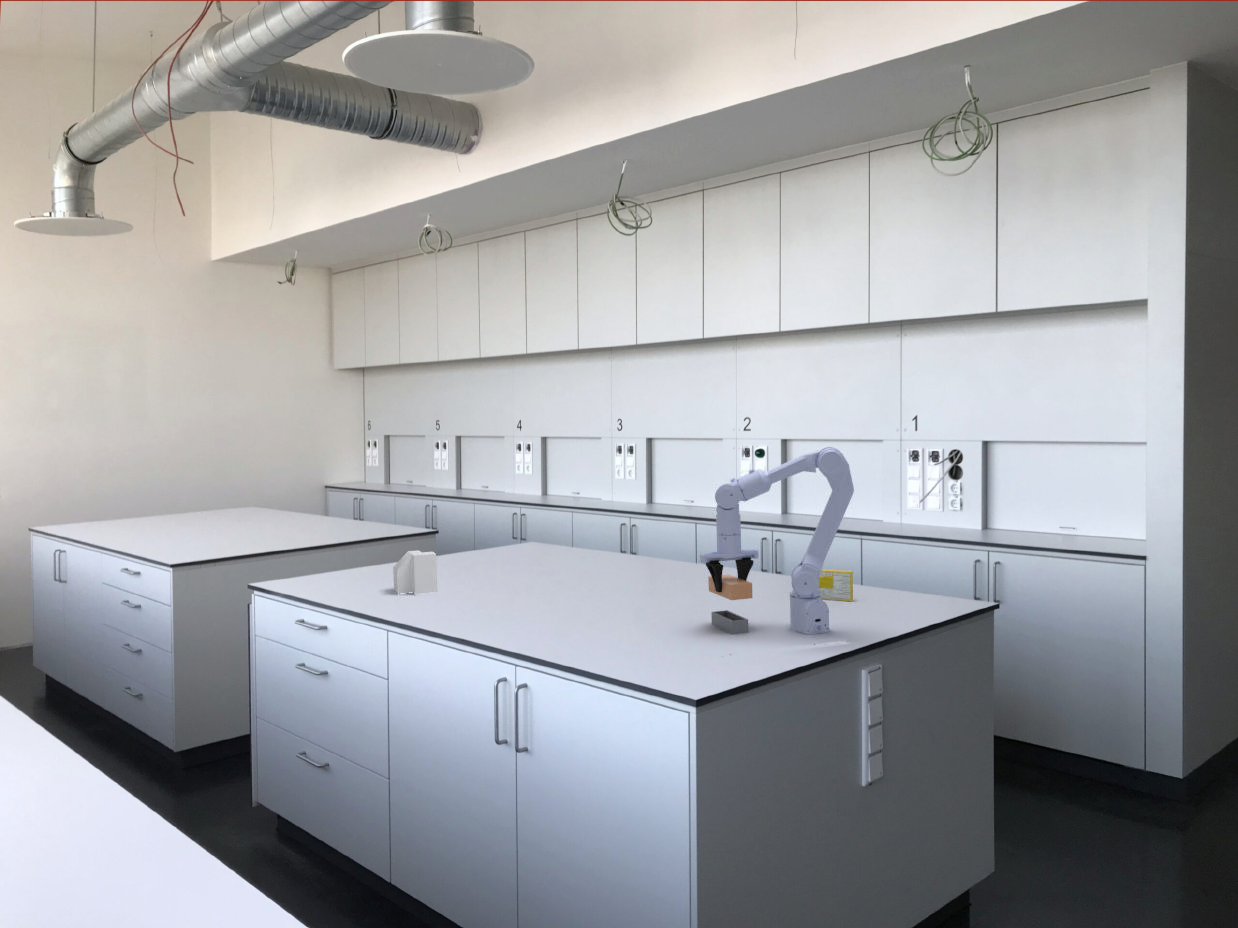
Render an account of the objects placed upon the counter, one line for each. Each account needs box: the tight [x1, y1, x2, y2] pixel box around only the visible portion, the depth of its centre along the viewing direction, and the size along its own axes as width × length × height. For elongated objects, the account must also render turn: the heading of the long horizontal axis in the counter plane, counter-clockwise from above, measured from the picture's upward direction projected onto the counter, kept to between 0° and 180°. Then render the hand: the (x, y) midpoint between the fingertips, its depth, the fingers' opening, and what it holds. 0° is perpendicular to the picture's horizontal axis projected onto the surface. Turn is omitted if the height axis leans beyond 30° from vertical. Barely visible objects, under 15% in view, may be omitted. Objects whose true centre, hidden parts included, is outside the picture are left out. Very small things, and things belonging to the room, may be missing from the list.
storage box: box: [711, 609, 749, 635], centre depth 228 cm, size 11×4×4 cm, turn 19°
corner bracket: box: [392, 549, 439, 595], centre depth 292 cm, size 11×11×12 cm
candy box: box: [818, 568, 854, 603], centre depth 264 cm, size 16×2×8 cm, turn 59°
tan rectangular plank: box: [707, 574, 753, 601], centre depth 228 cm, size 13×5×4 cm, turn 19°
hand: (730, 590), depth 228 cm, fingers closed on tan rectangular plank, 5 cm apart
